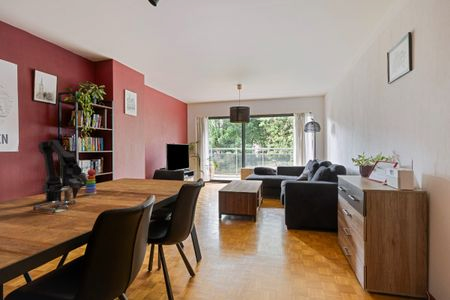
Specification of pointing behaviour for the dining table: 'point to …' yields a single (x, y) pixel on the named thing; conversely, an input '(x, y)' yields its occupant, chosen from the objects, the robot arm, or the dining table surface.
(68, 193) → the walnut peg
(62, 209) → the sage coaster
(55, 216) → the dining table surface
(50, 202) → the rail leg
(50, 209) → the rails leg
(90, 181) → the stacking toy
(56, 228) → the dining table surface
